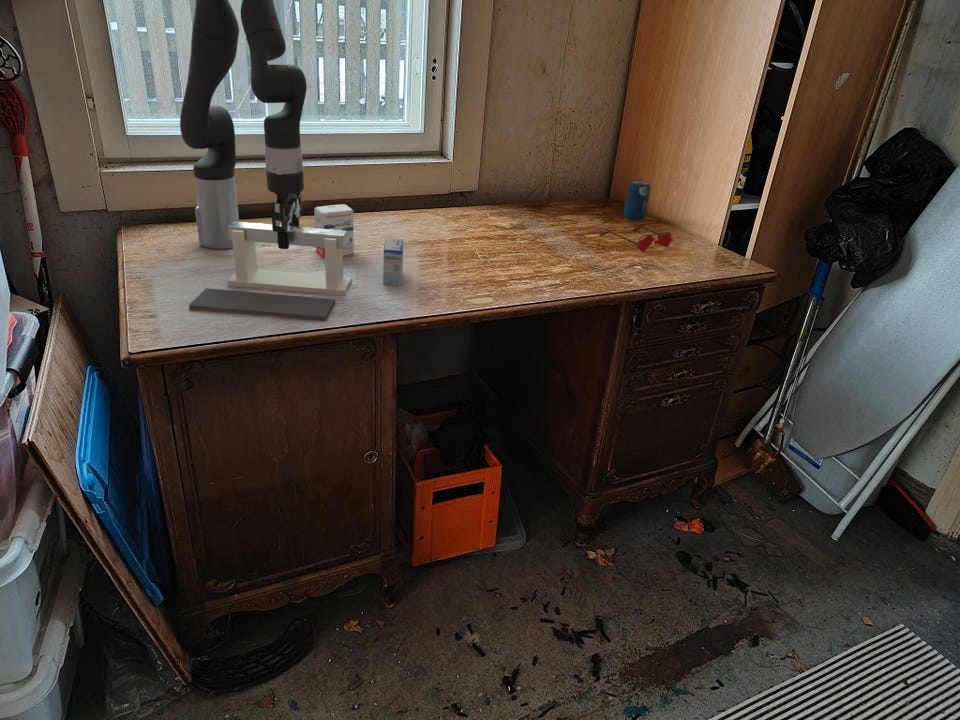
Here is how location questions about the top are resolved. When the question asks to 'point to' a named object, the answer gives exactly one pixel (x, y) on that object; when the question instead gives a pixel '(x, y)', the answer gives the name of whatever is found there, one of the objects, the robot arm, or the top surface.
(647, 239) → the glasses
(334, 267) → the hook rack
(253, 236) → the rail
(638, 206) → the soda can
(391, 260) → the medicine box
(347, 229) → the ink box
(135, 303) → the top surface
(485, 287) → the top surface
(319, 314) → the rubber mat
